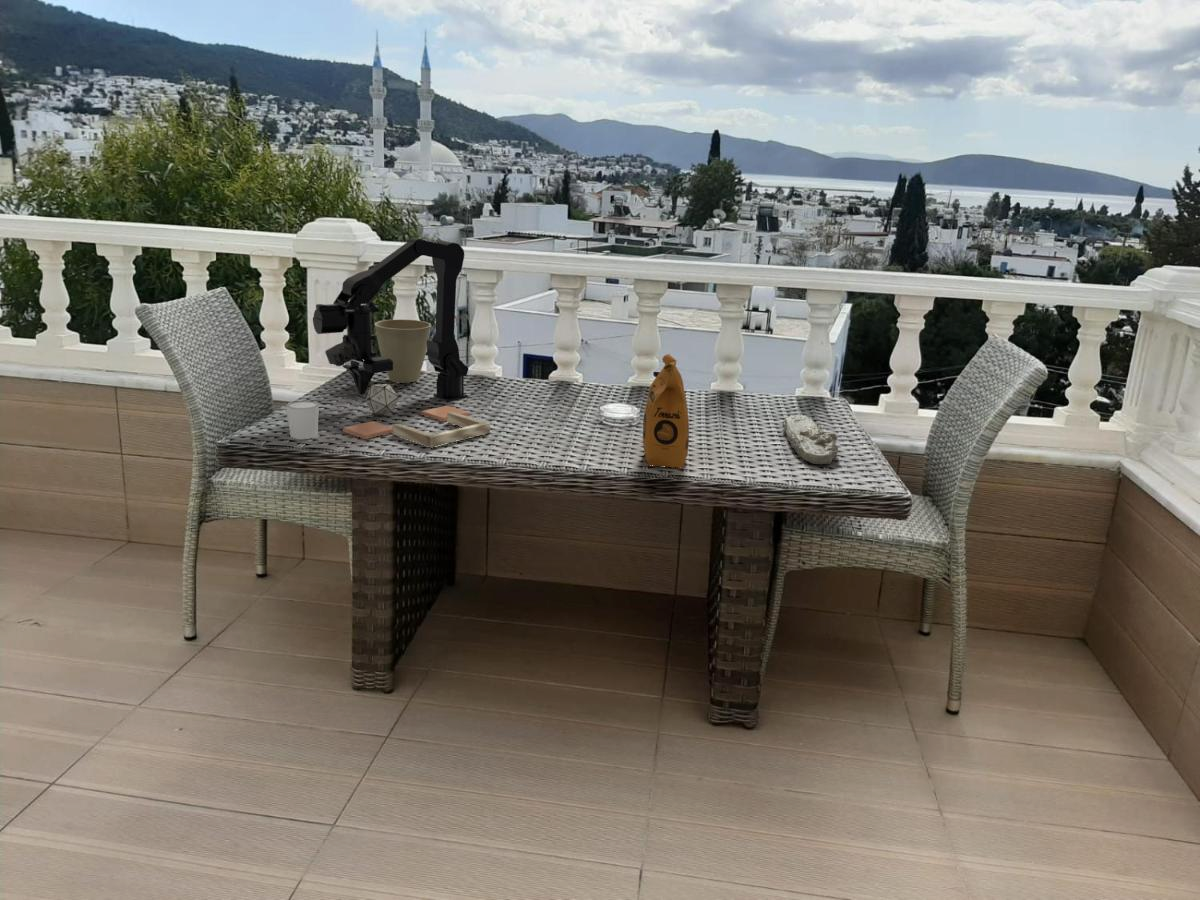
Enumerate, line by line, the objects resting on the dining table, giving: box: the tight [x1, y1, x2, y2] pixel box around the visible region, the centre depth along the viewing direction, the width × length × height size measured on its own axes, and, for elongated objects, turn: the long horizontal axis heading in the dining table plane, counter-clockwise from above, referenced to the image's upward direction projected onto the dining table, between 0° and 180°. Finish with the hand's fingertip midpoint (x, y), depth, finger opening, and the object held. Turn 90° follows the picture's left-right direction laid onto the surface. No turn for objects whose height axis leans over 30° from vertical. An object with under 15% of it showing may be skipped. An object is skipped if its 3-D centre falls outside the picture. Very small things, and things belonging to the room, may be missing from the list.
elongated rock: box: [782, 414, 839, 465], centre depth 208 cm, size 35×5×10 cm
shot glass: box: [285, 400, 320, 440], centre depth 195 cm, size 7×7×7 cm
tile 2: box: [420, 405, 470, 422], centre depth 217 cm, size 8×8×1 cm
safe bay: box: [392, 412, 491, 447], centre depth 201 cm, size 17×13×2 cm
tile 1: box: [342, 421, 394, 440], centre depth 201 cm, size 8×8×1 cm
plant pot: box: [374, 319, 432, 384], centre depth 247 cm, size 15×15×16 cm
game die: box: [361, 380, 403, 418], centre depth 214 cm, size 9×8×10 cm
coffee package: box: [642, 353, 690, 469], centre depth 188 cm, size 10×12×22 cm
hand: (361, 394), depth 219 cm, fingers closed
